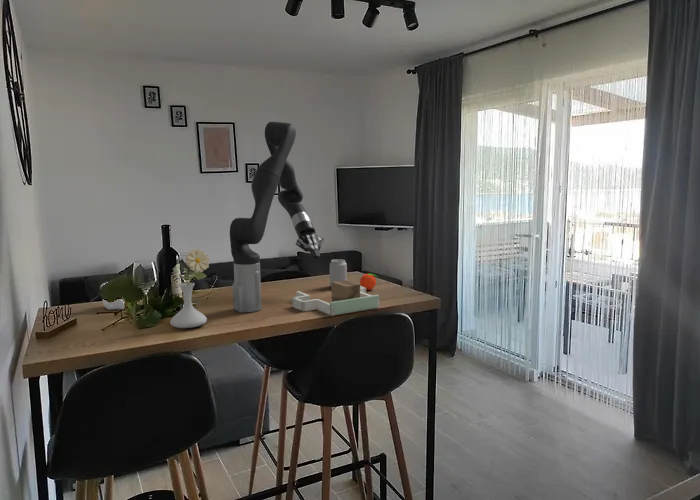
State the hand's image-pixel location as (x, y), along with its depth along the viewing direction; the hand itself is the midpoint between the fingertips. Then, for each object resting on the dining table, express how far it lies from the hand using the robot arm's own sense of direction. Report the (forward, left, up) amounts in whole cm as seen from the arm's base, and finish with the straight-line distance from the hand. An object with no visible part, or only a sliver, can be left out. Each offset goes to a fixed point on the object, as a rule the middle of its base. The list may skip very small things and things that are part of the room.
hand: (317, 258), depth 200 cm
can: (+16, +11, -16) cm, 25 cm away
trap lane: (0, -14, -16) cm, 21 cm away
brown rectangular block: (0, -20, -16) cm, 25 cm away
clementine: (+24, -1, -16) cm, 29 cm away
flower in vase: (-54, -12, -16) cm, 58 cm away
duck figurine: (-72, +26, -16) cm, 78 cm away
